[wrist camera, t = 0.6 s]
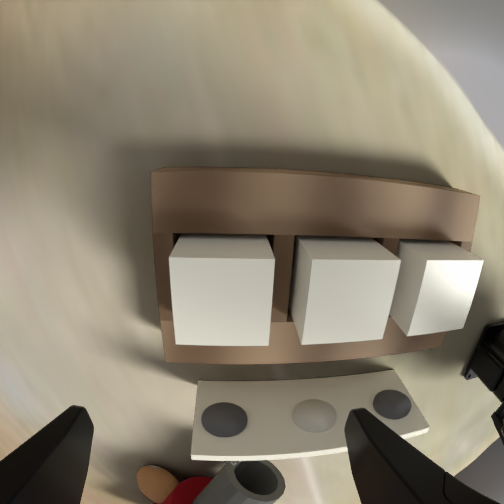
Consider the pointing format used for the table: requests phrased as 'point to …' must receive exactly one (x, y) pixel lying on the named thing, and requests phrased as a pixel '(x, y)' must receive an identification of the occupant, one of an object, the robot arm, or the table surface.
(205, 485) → the toy
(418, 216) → the board
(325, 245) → the button mid
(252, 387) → the card
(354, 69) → the table surface
